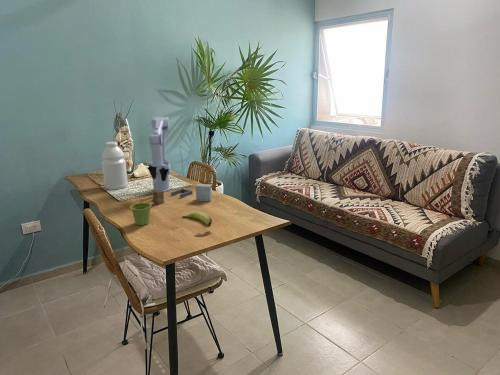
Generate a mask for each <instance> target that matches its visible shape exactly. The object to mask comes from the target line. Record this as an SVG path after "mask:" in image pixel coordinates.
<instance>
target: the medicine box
mask: <svg viewBox="0 0 500 375" xmlns="http://www.w3.org/2000/svg"><path fill="white" fill-rule="evenodd" d="M212 198H213V197H212V184H210V183H209V184H208V183H207V184H205V183H202V184H201V183H200V184H199V183H197V185H195V200H196V202H211V201H210V200H212Z"/></svg>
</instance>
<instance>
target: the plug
mask: <svg viewBox="0 0 500 375" xmlns="http://www.w3.org/2000/svg"><path fill="white" fill-rule="evenodd" d="M152 195H153V199H152V202H153V203H152V204H153V205H157V206H160V205H162V204H165V194H164V192H163V191H162V190H152Z"/></svg>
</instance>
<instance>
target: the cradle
mask: <svg viewBox="0 0 500 375" xmlns="http://www.w3.org/2000/svg"><path fill="white" fill-rule="evenodd" d="M193 193H194V192H193V190H192V189H186V188H180V189H177V190H173V191H171V192H170V196H171V197H174V196H176V195H179V198H180V199H182V198H187V197H188V196H191V195H193Z"/></svg>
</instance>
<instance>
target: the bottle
mask: <svg viewBox="0 0 500 375" xmlns="http://www.w3.org/2000/svg"><path fill="white" fill-rule="evenodd" d="M105 146H106V147H104V149H103V150H102V153H101V156H100V157H101V158H102V161H101V168H102V177H103V183H104V184H103V186H104V188H105V189H106V190H111V191H112V190H113V191H116V190H122V189H125V188H128V186H129V182H128V174H127V162H126V159H124V156H125V153H124V151H123V150H122V149H121V148H120V147H119V144H118V142H117V141H107V142H105Z"/></svg>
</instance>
